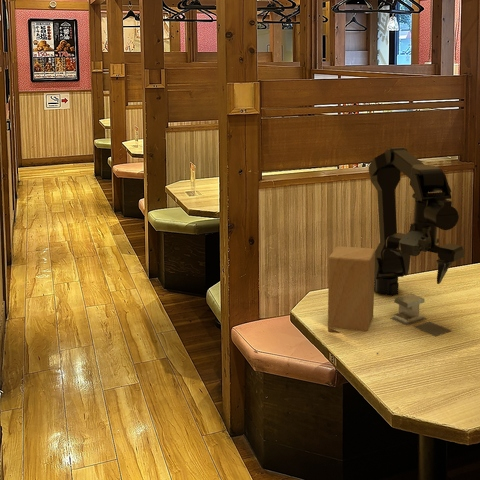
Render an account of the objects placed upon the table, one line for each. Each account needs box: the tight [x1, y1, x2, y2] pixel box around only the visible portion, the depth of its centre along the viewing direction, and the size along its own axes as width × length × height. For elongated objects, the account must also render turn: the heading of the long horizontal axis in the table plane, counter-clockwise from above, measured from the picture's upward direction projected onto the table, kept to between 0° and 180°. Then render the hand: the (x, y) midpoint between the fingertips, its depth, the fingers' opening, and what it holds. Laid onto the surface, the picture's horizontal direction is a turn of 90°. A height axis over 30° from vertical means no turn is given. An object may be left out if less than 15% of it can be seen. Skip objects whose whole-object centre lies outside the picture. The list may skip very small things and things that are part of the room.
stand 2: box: [413, 321, 452, 338], centre depth 164 cm, size 7×6×2 cm
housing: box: [393, 293, 425, 324], centre depth 170 cm, size 4×6×6 cm
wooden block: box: [327, 245, 376, 334], centre depth 167 cm, size 10×10×20 cm
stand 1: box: [390, 316, 427, 326], centre depth 171 cm, size 6×7×2 cm
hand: (422, 279), depth 167 cm, fingers open, 9 cm apart
